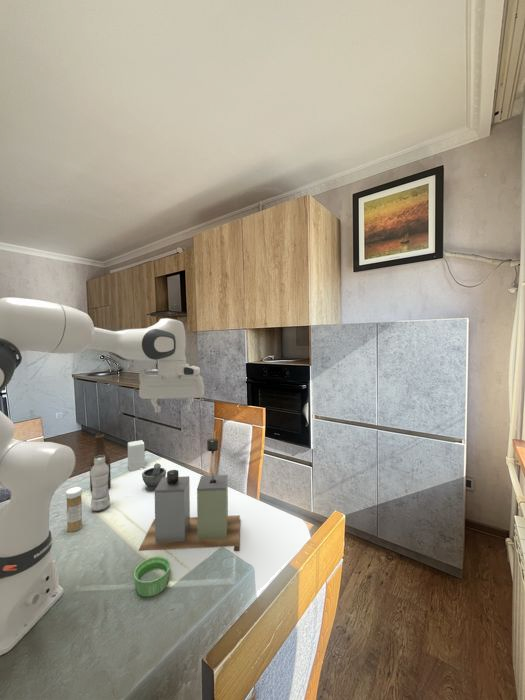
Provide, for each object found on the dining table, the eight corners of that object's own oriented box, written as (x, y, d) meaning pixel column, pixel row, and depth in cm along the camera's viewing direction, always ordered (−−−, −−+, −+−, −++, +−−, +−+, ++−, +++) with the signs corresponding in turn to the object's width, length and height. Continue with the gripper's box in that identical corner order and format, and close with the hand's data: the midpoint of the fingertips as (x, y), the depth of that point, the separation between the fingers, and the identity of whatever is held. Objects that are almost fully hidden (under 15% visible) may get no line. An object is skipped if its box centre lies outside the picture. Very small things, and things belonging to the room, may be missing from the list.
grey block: (184, 540, 93) (184, 489, 92) (155, 542, 92) (154, 490, 92) (189, 523, 102) (189, 476, 101) (163, 524, 101) (162, 477, 101)
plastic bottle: (113, 504, 117) (112, 453, 116) (102, 514, 110) (101, 460, 110) (98, 503, 117) (97, 453, 117) (86, 513, 111) (85, 460, 110)
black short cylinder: (182, 536, 93) (181, 476, 93) (158, 537, 93) (157, 477, 92) (187, 522, 101) (186, 467, 100) (164, 523, 100) (164, 467, 100)
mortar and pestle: (140, 486, 132) (140, 459, 131) (161, 480, 137) (161, 454, 137) (147, 496, 122) (146, 467, 122) (169, 490, 128) (169, 462, 128)
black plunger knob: (223, 503, 94) (223, 443, 93) (200, 504, 93) (199, 444, 93) (225, 491, 101) (224, 436, 101) (203, 492, 101) (202, 436, 100)
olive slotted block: (226, 538, 93) (226, 487, 93) (197, 540, 93) (197, 488, 92) (227, 521, 102) (227, 475, 102) (201, 522, 102) (201, 475, 101)
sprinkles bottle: (69, 525, 103) (69, 487, 103) (84, 523, 104) (83, 485, 104) (64, 533, 99) (63, 493, 99) (79, 531, 100) (79, 492, 100)
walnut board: (239, 550, 90) (239, 545, 90) (138, 555, 88) (138, 550, 88) (239, 519, 106) (239, 515, 106) (154, 523, 104) (154, 518, 104)
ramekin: (134, 577, 80) (134, 561, 80) (169, 567, 84) (169, 552, 83) (132, 604, 72) (132, 586, 72) (171, 592, 75) (171, 576, 75)
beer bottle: (91, 487, 130) (90, 433, 130) (111, 484, 133) (110, 431, 133) (89, 496, 123) (88, 438, 123) (110, 492, 126) (109, 436, 126)
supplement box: (145, 468, 150) (144, 443, 150) (129, 471, 147) (128, 446, 146) (143, 463, 157) (142, 439, 156) (127, 466, 153) (127, 442, 153)
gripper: (135, 370, 92) (136, 414, 92) (202, 369, 93) (202, 413, 93) (142, 368, 98) (143, 410, 98) (204, 368, 99) (205, 408, 100)
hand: (172, 411), depth 96 cm, fingers open, 8 cm apart
